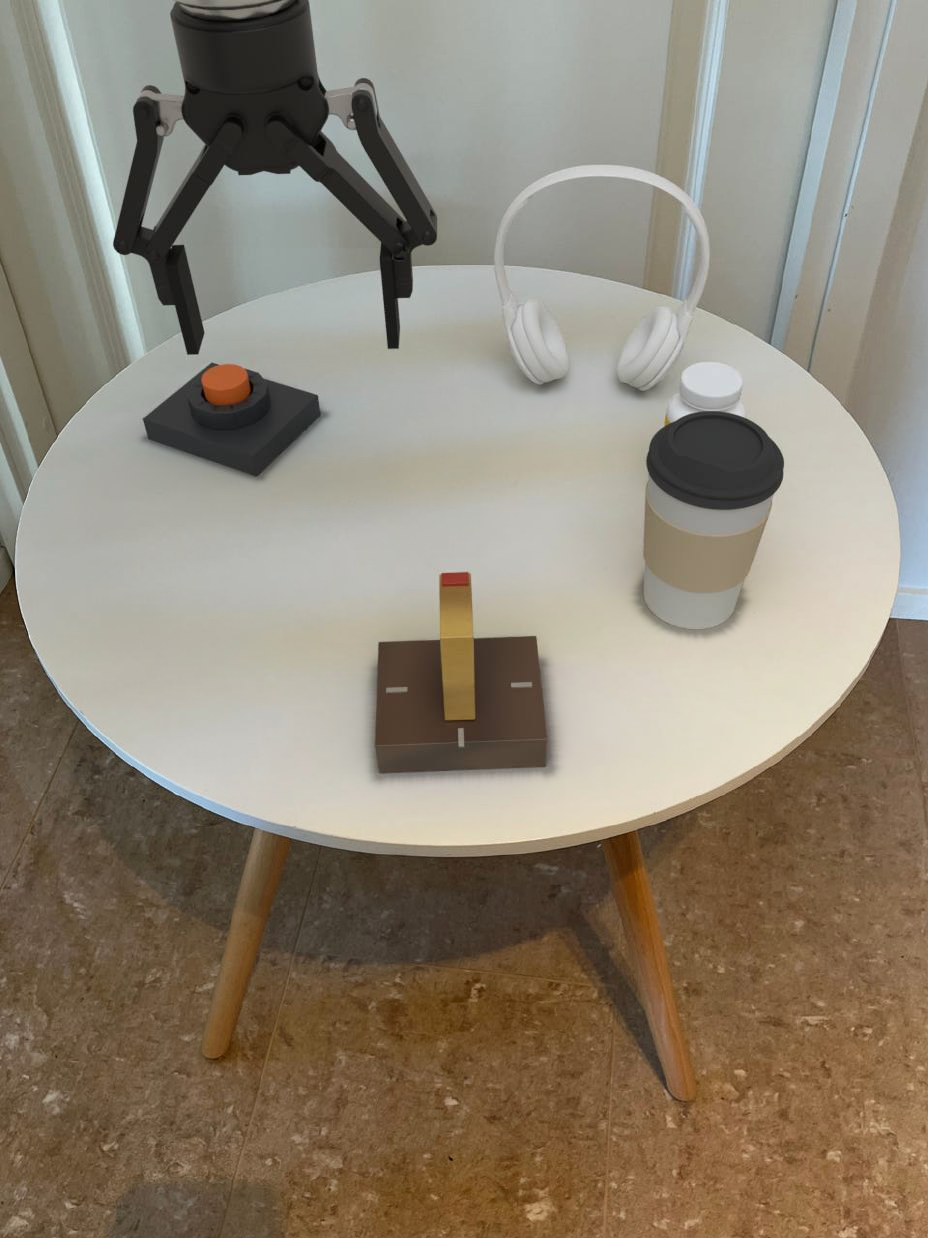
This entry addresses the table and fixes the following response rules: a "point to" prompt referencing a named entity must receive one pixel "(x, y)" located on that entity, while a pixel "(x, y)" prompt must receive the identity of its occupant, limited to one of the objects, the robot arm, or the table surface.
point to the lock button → (226, 384)
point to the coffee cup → (705, 514)
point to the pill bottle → (707, 391)
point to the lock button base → (234, 422)
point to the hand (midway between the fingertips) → (295, 341)
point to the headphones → (652, 338)
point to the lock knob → (457, 645)
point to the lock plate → (490, 741)
